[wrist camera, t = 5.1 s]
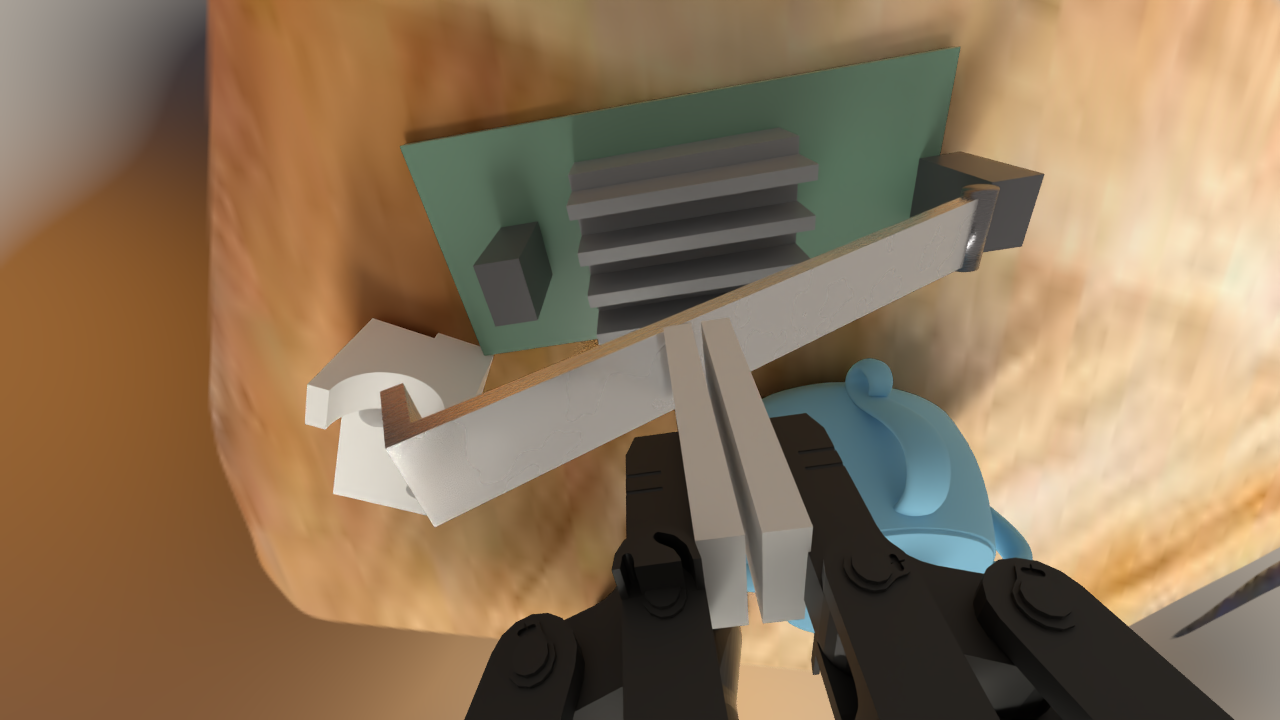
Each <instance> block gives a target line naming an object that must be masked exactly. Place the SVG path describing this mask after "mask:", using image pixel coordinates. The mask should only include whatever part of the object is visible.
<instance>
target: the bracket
mask: <svg viewBox="0 0 1280 720" xmlns="http://www.w3.org/2000/svg"><path fill="white" fill-rule="evenodd" d="M493 357H494V354H493V355H486V356H484V354H483V352H482V349H481V347H480V346H477V345H474V344H471V343H468V342H465V341H462V340H459V339H456V338H453V337H450V336H447V335H444V334H441V333H438V334H437V335H436V337H435V338H432V337H429V336H426V335H423V334H420V333H417V332H414V331H411V330H408V329H405V328H402V327H398V326H395V325H392V324H389V323H386V322H383V321H380V320H377V319H374V318H372V319H371V320H370V321H369V322H368V323H367V324H366V325H365V326H364V327H363V328H362V329H361V330H360V331H359V332H358V333H357V335H356V336H355V337H354V338H353V339H352V340H351V341H350V342H349V343H348V344H347V345H346V346H345V347H344V348H343V349H342V350H341V351H340V352H339V353H338V354H337V355H336V356H335V357H334V358H333V359H332V360H331V361H330V362H329V363H328V364H327V365H326V366H325V367H324V368H323V369H322V370H321V371H320V372H319V373H318V374H317V375H316V376H315V377H314V378H313V379H312V380H311V381H310V382H309V383H308V384H307V399H306V415H305V424H307V425H311V426H315V427H318V428H322V429H327V427H328V426H329V425H330V424H332V423H333V422H334V421H336V420H337V419H339V418H341V417H342V419H341V428H340V437H339V446H338V454H337V463H336V472H335V481H334V489H333V494H337V495H341V496H346V497H350V498H354V499H358V500H363V501H367V502H371V503H376V504H380V505H384V506H388V507H393V508H397V509H401V510H406V511H410V512H414V513H418V514H423V515H427V514H426V513H425V511H424V510H423V508H422V506H421V505H420V503H419V502H418V500H417V498H416V497H415V495H414V494H413V492H412V491H411V489H410V487H409V486H408V484H407V483H406V481H405V479H404V478H403V476H402V475H401V473H400V471H399V470H398V468H397V467H396V465H395V463H394V462H393V460H392V459H391V457H390V455H389V454H388V452H387V451H386V449H385V441H384V430H383V420H382V409H381V398H380V391H383V390H386V389H388V388H391V387H393V386H396V385H399V384H401V383H403V384H404V386H405V387H406V389H407V391H408V393H409V395H410V397H411V399H412V400H413V402H414V404H415V406H416V408H417V410H418V412H419V413H420V415H421V417H422V418H424V417H427V416H429V415H432V414H434V413H436V412H439V411H441V410H444V409H446V408H449V407H451V406H453V405H456V404H458V403H461V402H463V401H466V400H468V399H470V398H473V397H475V396H478V395H480V394H482V392H483V389H484V386H485V383H486V379H487V376H488V373H489V370H490V367H491V363H492V360H493Z"/></svg>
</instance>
